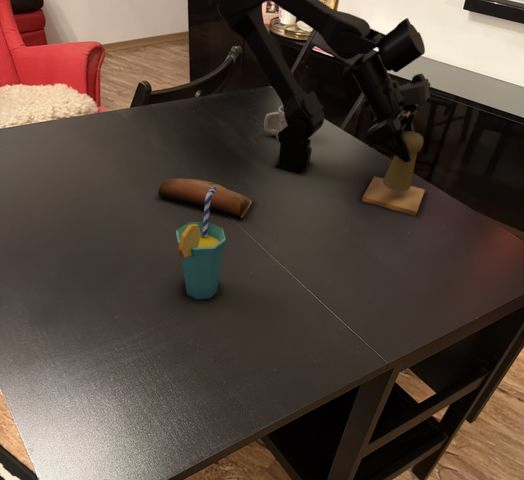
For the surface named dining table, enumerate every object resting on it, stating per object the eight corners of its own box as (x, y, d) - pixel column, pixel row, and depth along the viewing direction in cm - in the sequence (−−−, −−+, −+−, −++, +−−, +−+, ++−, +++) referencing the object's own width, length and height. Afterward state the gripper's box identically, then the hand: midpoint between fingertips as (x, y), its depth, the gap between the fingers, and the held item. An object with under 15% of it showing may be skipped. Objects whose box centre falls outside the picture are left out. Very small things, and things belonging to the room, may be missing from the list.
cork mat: (361, 200, 105) (362, 196, 104) (373, 180, 112) (374, 176, 111) (415, 215, 102) (417, 211, 102) (423, 193, 110) (425, 189, 109)
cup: (191, 258, 85) (189, 178, 74) (234, 265, 85) (238, 187, 74) (167, 308, 76) (161, 225, 65) (215, 317, 75) (216, 235, 64)
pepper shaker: (412, 182, 106) (430, 132, 98) (407, 193, 102) (424, 142, 94) (386, 174, 108) (401, 124, 100) (380, 185, 104) (395, 134, 96)
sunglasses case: (254, 198, 100) (250, 180, 94) (243, 228, 99) (239, 211, 92) (176, 179, 103) (167, 160, 97) (164, 207, 102) (154, 190, 95)
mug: (298, 131, 127) (302, 105, 123) (303, 142, 123) (307, 115, 118) (261, 130, 126) (263, 103, 121) (264, 141, 121) (267, 114, 117)
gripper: (399, 73, 83) (438, 154, 88) (425, 50, 95) (458, 122, 100) (347, 108, 91) (386, 180, 96) (377, 83, 103) (410, 148, 108)
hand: (412, 156), depth 100 cm, fingers closed on pepper shaker, 5 cm apart
